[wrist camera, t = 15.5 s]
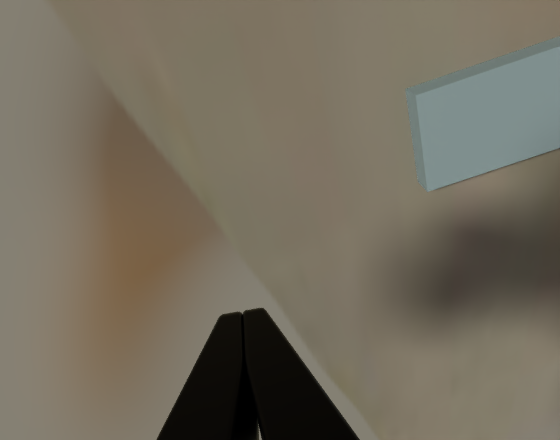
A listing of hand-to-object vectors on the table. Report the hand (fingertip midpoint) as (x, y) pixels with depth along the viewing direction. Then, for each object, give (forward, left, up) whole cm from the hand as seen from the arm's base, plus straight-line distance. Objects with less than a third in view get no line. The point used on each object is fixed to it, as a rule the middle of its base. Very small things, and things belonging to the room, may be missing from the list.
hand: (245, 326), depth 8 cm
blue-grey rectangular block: (+4, +8, -12) cm, 15 cm away
